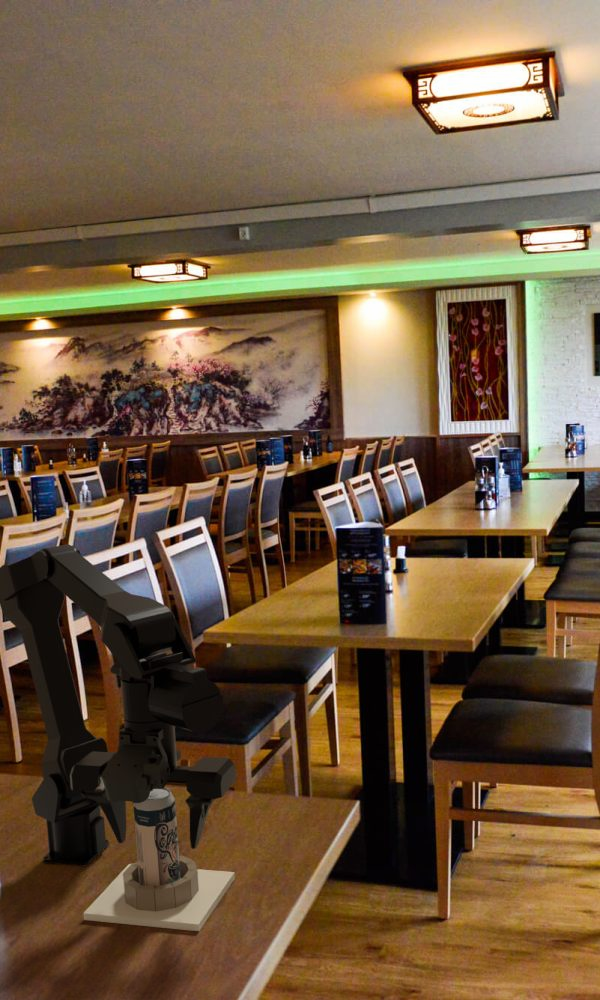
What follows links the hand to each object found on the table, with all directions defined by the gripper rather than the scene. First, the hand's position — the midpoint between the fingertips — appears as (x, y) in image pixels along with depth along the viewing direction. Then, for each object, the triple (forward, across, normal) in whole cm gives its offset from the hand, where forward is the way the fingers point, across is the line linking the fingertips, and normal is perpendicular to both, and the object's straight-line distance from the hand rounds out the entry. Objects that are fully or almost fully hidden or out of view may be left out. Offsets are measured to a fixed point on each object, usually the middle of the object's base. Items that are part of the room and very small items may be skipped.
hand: (158, 844), depth 114 cm
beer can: (+6, 0, 0) cm, 6 cm away
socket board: (+7, 0, 0) cm, 7 cm away
